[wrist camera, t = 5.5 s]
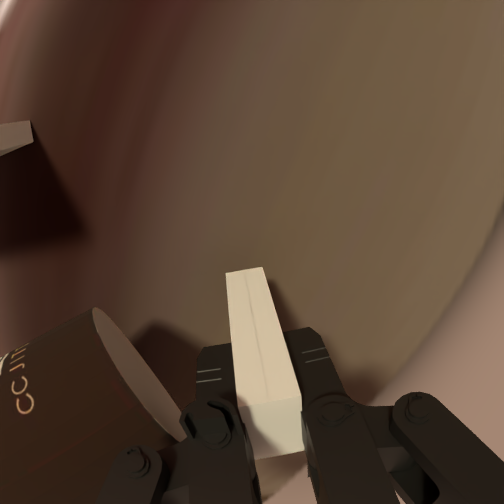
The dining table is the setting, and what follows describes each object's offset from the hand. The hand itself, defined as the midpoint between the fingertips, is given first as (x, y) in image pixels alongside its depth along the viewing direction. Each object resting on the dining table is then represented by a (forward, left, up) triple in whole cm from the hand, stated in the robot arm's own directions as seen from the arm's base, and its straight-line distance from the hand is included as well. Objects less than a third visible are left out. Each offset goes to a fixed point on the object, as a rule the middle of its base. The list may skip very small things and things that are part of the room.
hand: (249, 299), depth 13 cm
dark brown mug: (+5, 0, +2) cm, 5 cm away
